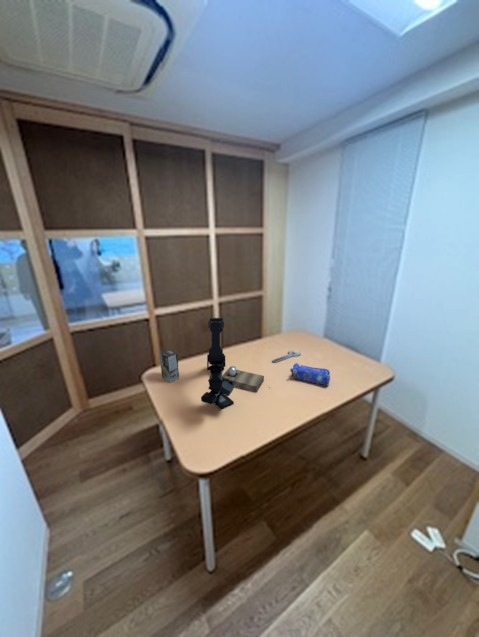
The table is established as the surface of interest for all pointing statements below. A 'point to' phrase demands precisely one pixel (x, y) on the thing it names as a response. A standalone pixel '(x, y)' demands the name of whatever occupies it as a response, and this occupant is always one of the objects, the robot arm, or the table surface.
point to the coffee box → (169, 365)
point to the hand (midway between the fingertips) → (216, 404)
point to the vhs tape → (224, 402)
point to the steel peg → (232, 371)
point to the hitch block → (245, 380)
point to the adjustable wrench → (287, 356)
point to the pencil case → (311, 374)
